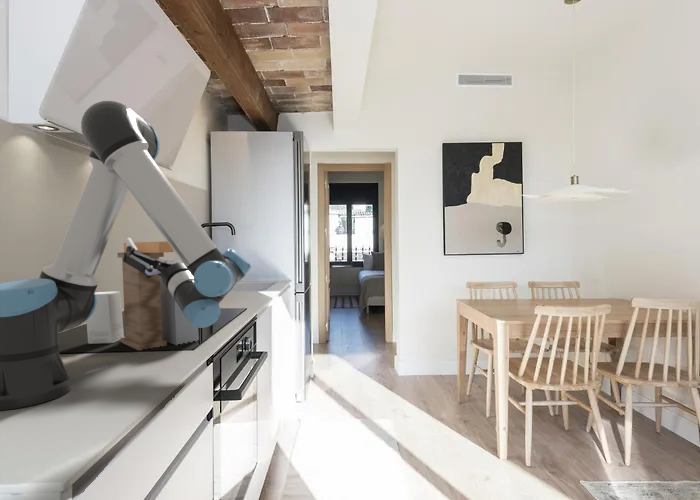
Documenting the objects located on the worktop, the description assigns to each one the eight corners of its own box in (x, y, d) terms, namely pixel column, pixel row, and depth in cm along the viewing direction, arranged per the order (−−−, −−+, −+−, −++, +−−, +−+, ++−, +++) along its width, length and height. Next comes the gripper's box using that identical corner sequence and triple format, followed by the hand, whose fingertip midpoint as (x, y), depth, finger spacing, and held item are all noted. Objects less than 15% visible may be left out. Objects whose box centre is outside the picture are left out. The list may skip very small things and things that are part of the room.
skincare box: (124, 339, 140) (122, 291, 140) (111, 344, 134) (109, 293, 133) (100, 339, 141) (98, 291, 141) (85, 344, 135) (83, 293, 134)
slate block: (176, 345, 130) (173, 276, 130) (156, 337, 142) (153, 274, 141) (198, 340, 135) (196, 274, 134) (177, 333, 146) (175, 272, 146)
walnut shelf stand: (138, 350, 125) (135, 252, 124) (120, 342, 136) (117, 252, 135) (167, 345, 130) (163, 251, 129) (147, 337, 142) (144, 251, 141)
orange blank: (159, 252, 119) (158, 241, 119) (124, 252, 137) (123, 242, 136) (173, 252, 122) (173, 241, 122) (137, 251, 139) (136, 242, 139)
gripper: (127, 299, 104) (103, 254, 117) (223, 289, 121) (193, 251, 134) (132, 273, 101) (106, 230, 114) (229, 266, 119) (198, 229, 132)
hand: (153, 241), depth 124 cm, fingers open, 13 cm apart
